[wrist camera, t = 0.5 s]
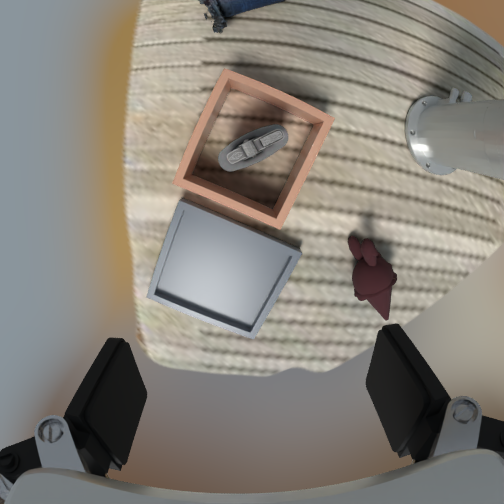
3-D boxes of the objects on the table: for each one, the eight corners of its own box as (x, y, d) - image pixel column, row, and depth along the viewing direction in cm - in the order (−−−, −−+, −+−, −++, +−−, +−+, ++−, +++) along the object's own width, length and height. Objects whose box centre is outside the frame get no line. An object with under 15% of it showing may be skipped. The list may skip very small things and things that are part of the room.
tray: (182, 197, 38) (179, 200, 36) (299, 248, 41) (302, 253, 39) (150, 291, 43) (146, 297, 42) (253, 331, 46) (253, 339, 44)
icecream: (416, 313, 38) (391, 227, 35) (381, 341, 38) (350, 254, 34) (391, 300, 45) (364, 223, 42) (358, 324, 44) (326, 246, 41)
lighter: (231, 172, 37) (225, 181, 28) (219, 150, 36) (209, 151, 27) (285, 145, 36) (297, 144, 27) (273, 123, 35) (282, 114, 26)
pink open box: (227, 78, 33) (224, 68, 28) (323, 122, 35) (334, 118, 30) (182, 178, 37) (172, 183, 32) (276, 218, 40) (280, 229, 34)
